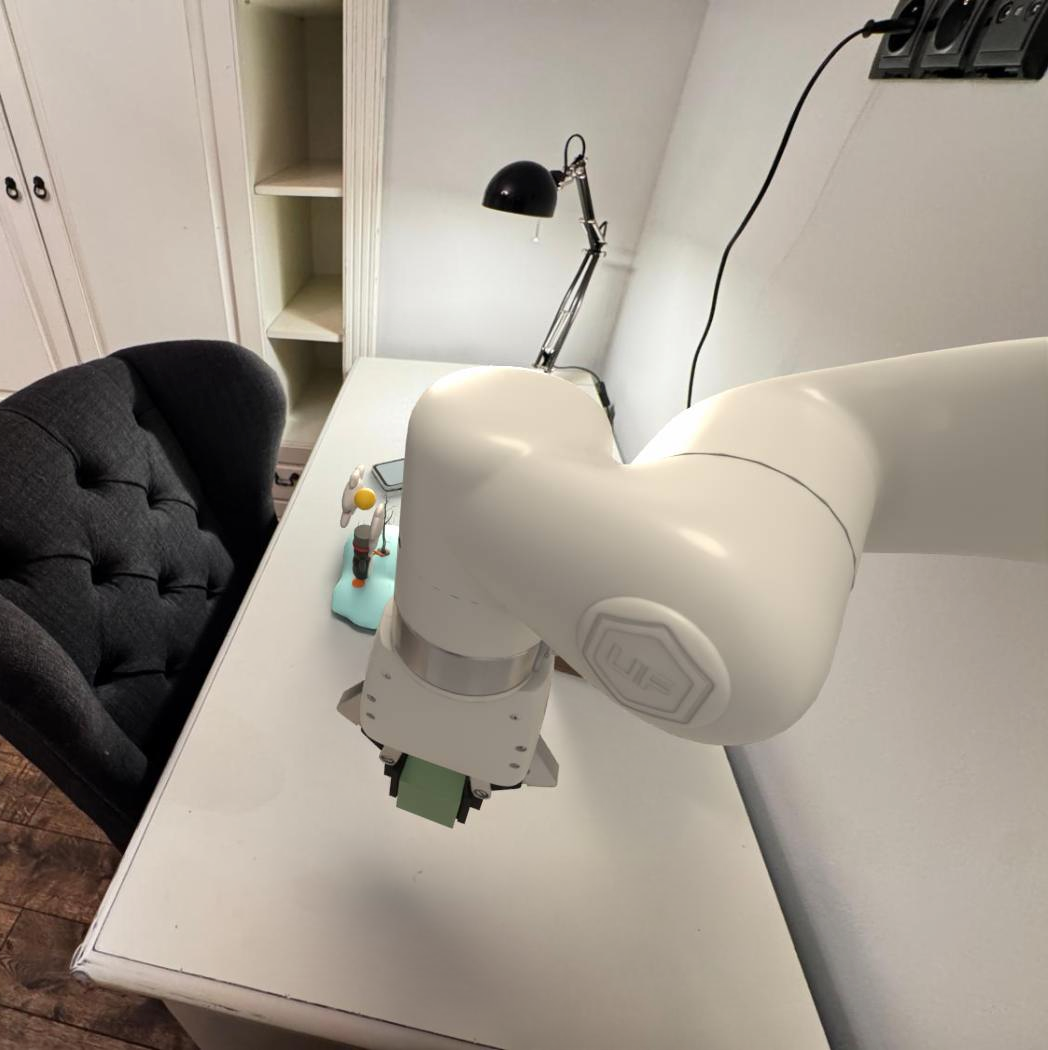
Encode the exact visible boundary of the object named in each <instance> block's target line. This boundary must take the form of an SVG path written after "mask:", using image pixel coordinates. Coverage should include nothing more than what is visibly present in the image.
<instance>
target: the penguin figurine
mask: <svg viewBox="0 0 1048 1050" xmlns="http://www.w3.org/2000/svg"><path fill="white" fill-rule="evenodd" d="M364 475H365V466H364V465H363V463H359V464H358V465H357V466H356V467H355V469H354V471H353V472H352V473H351V475H350V477H349V480H348V482H347V483H346V485H345V487H344V490H343V492H342V497H341V509H342V513H341V515H340V520H339V526H340V527H341V528H342V529H345V528H347V526H349V523H350V520H351V518H352V516H353V515H354V514H355V512H356V510H357V509H359V510H361V511H369V510H371V509H372V508H374V506H375V504H376V502H377V496H376V494H375V491H373V490H372V489H371V488H368V487H364V481H363V479H364ZM385 487H386V486H385ZM379 489H380V490H379V491H382V490H381V488H379ZM395 490H396V489H395V488H394V490H393V489H392V490H385V493H383V495H382V498H383V499H385V503H384V504H383V503H379V504H378V505H377V506H376V507H375V510H374V512H373V515H372V518H371V522H370V525H369V524H365V523H366V521H365V520H363V524H360V520H358V522H357V526H356V527H354V529H353V531H352V532H351V533H350V534H349V536H348V538H347V539H346V542H345V543H344V546H343V553H342V558H343V560H342V561H343V562H342V571H341V576H340V579H339V581H338V583H336V585H335V587H333V591H332V598H331V605H330V607H331V608H330V609H331V611H332V612H335V613H337V614H338V615H341V616H343V617H345V618H347V619H348V620H349V621H351V622H352V623H353V624H354V625H357V626H359V627H361V628H364V629H365V628H366V629H370V630H377V628H378V624H379V621H380V618H381V615H382V612H383V610H384V608H385V606H386V603H387V602H388V600H389V599H390V598H391V597H392V596H393V595H394V584H395V572H396V559H397V547H398V534H399V526H397V525H392V524H395V520H393V522H392V524H391V519H392V517H393V514H394V510H392V511H391V515H390V516H388V517H387V512H388V511H389V509H387V505H388V504H393V503H391V502H389V501H390V499H391V497H392V496H390V497H389V498H388V493H389V492H391V491H395ZM395 507H397V506H396V505H394V506H392V508H395ZM396 516H397V514H395V517H396ZM395 517H393V519H395Z"/></svg>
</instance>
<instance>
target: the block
mask: <svg viewBox="0 0 1048 1050" xmlns="http://www.w3.org/2000/svg"><path fill="white" fill-rule="evenodd" d="M465 778H466V775H465V774H462V773H459V772H456V771H453V770H451V769H448V768H445V767H442V766H439V765H436V764H434V763H431V762H428V761H425V760H423V759H420V758H417V757H414V756H412V755H409V754H408V757H407V760H406V763H405V766H404V769H403V771H402V773H401V776H400V780H399V787H398V795H397V797H396V804H395V807H396V808H397V809H399V810H402V811H406V812H407V813H411V814H413V815H416V816H418V817H421V818H423V819H426V820H428V821H431V822H434V823H436V824H438V825H441V826H444V827H446V828H449V829H452V830H453V829H454V826H455V822H456V820H457V819H456V816H457V812H458V809H459V805H460V802H461V797H462V791H463V787H464V782H465Z"/></svg>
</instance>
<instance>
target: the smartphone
mask: <svg viewBox="0 0 1048 1050" xmlns="http://www.w3.org/2000/svg"><path fill="white" fill-rule="evenodd" d="M404 458H405V457H402V458H401V457H400V458H396V459H392V460H388V461H382V462H379V463H374V464H373V465H372V466H371V472H372V474H373V475H374V477H375V478H376V480H377V481H378V482H379V484H380V486H381V487H382V489H384V490H385V491H390V490H391V491H394V490H398V489H402V484H403V471H404ZM385 486H386V487H385ZM394 488H395V489H394ZM392 489H393V490H392Z"/></svg>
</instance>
